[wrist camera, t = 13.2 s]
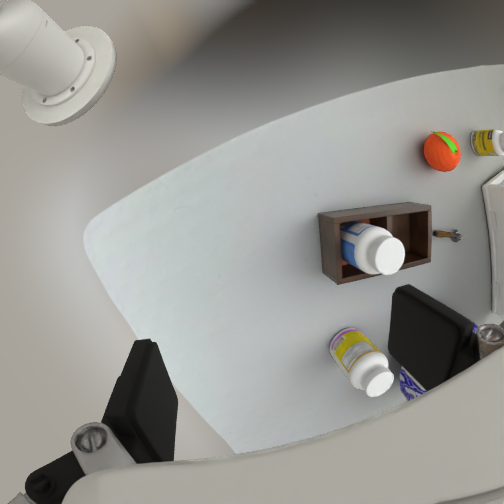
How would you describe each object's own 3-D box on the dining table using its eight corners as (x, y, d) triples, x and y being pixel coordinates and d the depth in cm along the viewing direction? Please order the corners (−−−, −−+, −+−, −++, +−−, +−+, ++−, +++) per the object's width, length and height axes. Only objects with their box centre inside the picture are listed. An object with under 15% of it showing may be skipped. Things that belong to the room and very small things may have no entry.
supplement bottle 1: (361, 351, 47) (396, 392, 35) (329, 362, 46) (359, 408, 34) (361, 321, 45) (401, 359, 33) (327, 332, 45) (361, 376, 32)
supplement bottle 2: (469, 127, 40) (503, 124, 30) (482, 135, 41) (514, 133, 31) (469, 152, 41) (504, 152, 32) (483, 158, 42) (516, 159, 32)
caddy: (317, 213, 40) (333, 217, 34) (409, 202, 41) (431, 205, 36) (322, 272, 42) (337, 285, 37) (410, 253, 44) (430, 262, 38)
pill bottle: (355, 265, 42) (395, 289, 31) (324, 250, 40) (360, 273, 30) (372, 229, 41) (416, 244, 30) (341, 212, 39) (383, 223, 29)
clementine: (406, 148, 39) (434, 144, 32) (421, 121, 38) (448, 116, 32) (432, 179, 41) (459, 181, 34) (446, 153, 40) (472, 151, 34)
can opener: (431, 235, 43) (436, 236, 42) (434, 223, 43) (438, 224, 42) (458, 243, 45) (462, 244, 44) (461, 231, 44) (465, 232, 43)
